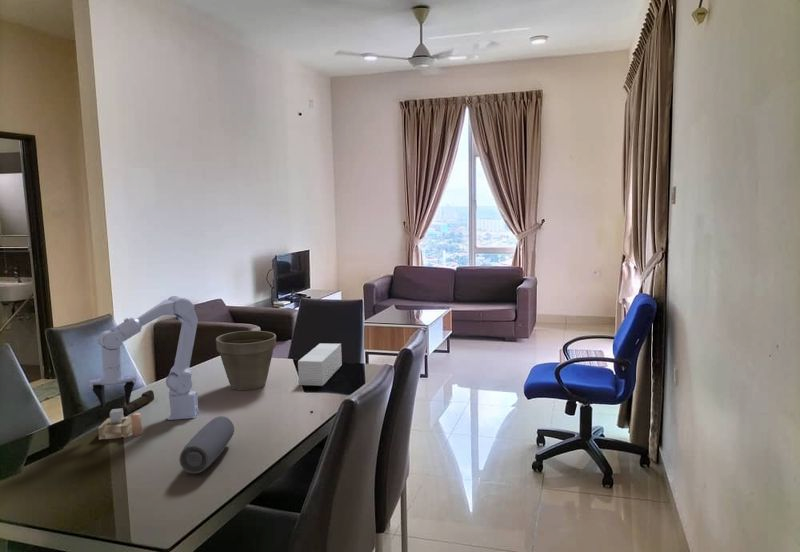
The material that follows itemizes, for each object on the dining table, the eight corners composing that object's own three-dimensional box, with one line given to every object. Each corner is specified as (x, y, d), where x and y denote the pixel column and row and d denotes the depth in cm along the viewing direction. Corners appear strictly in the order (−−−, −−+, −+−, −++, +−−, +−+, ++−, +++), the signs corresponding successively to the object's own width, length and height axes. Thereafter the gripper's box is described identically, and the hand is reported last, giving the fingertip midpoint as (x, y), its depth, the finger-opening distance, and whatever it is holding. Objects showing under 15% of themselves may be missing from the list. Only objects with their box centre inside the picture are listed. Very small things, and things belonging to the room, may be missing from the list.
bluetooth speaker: (208, 444, 180) (206, 414, 178) (236, 444, 179) (235, 414, 178) (178, 478, 157) (175, 444, 156) (211, 477, 157) (208, 443, 156)
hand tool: (126, 417, 206) (125, 405, 206) (117, 416, 207) (116, 404, 207) (160, 400, 225) (159, 389, 224) (151, 399, 226) (150, 388, 225)
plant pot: (290, 381, 244) (288, 333, 242) (247, 398, 223) (244, 345, 221) (250, 374, 257) (247, 328, 255) (206, 389, 237) (203, 339, 234)
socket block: (135, 427, 196) (135, 416, 195) (127, 437, 187) (126, 425, 187) (108, 429, 194) (107, 418, 194) (99, 439, 186) (98, 427, 185)
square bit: (124, 430, 193) (122, 408, 192) (122, 434, 190) (120, 411, 189) (114, 431, 192) (112, 409, 191) (111, 435, 189) (109, 412, 188)
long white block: (320, 365, 271) (319, 343, 270) (341, 365, 269) (341, 343, 268) (298, 385, 240) (297, 361, 238) (322, 386, 238) (321, 361, 237)
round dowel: (143, 432, 191) (141, 412, 190) (140, 435, 188) (139, 415, 187) (134, 432, 191) (132, 413, 190) (131, 436, 188) (129, 416, 187)
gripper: (138, 361, 194) (141, 399, 195) (92, 364, 190) (95, 403, 192) (133, 366, 187) (136, 405, 188) (85, 370, 184) (89, 410, 185)
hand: (115, 405), depth 190 cm, fingers open, 7 cm apart
